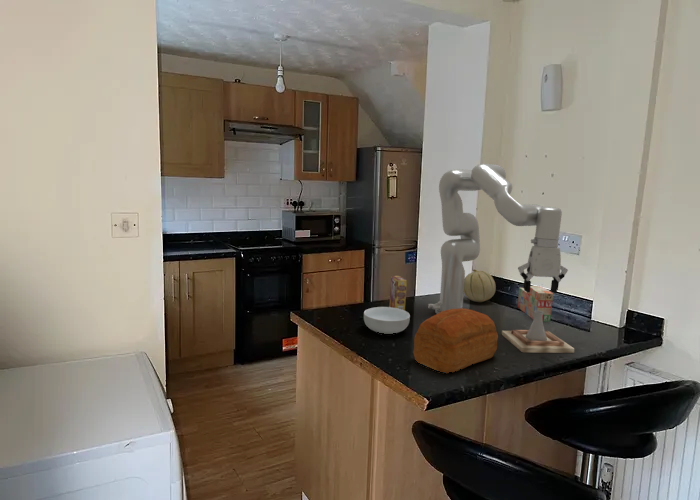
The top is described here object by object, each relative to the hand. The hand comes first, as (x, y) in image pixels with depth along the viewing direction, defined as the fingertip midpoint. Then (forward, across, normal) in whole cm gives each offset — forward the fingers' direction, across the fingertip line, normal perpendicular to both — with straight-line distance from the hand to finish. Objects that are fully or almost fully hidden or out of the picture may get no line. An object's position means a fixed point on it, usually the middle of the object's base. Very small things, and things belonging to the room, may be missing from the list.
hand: (540, 291), depth 169 cm
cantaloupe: (+20, -2, +55) cm, 59 cm away
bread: (+19, -33, -16) cm, 41 cm away
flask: (+17, 0, 0) cm, 17 cm away
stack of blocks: (+20, +16, +36) cm, 44 cm away
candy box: (+20, -44, +33) cm, 58 cm away
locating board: (+19, 0, -1) cm, 19 cm away
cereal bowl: (+20, -52, +10) cm, 56 cm away
